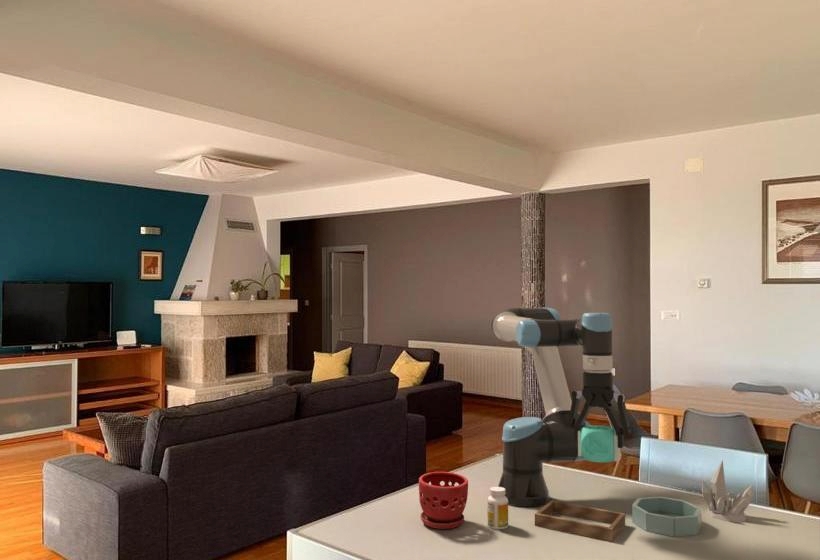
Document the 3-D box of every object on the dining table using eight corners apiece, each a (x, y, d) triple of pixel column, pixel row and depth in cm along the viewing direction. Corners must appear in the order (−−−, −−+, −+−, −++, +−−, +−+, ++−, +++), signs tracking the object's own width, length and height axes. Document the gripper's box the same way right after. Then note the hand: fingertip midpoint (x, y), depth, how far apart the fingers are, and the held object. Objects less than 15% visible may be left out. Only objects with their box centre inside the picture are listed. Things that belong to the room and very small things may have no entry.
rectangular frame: (534, 525, 165) (534, 513, 165) (552, 510, 176) (551, 500, 176) (612, 541, 155) (611, 529, 155) (625, 525, 166) (625, 513, 166)
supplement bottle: (510, 523, 167) (509, 486, 167) (506, 531, 162) (506, 492, 162) (489, 521, 168) (489, 484, 169) (485, 528, 163) (485, 490, 164)
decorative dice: (613, 463, 160) (612, 432, 160) (580, 460, 163) (580, 429, 163) (616, 456, 167) (615, 426, 168) (585, 454, 170) (585, 424, 171)
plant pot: (411, 529, 163) (411, 482, 163) (428, 512, 175) (427, 469, 176) (460, 535, 159) (460, 488, 159) (473, 518, 171) (473, 473, 171)
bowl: (627, 527, 164) (627, 510, 164) (641, 509, 177) (641, 493, 177) (694, 540, 155) (694, 522, 155) (704, 520, 169) (703, 503, 169)
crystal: (761, 523, 167) (760, 466, 167) (707, 520, 169) (707, 464, 169) (747, 510, 176) (747, 456, 177) (697, 508, 179) (697, 455, 179)
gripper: (553, 370, 169) (554, 454, 169) (635, 375, 157) (636, 466, 156) (564, 367, 175) (565, 449, 175) (643, 372, 163) (645, 460, 162)
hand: (599, 457), depth 165 cm, fingers closed on decorative dice, 9 cm apart
